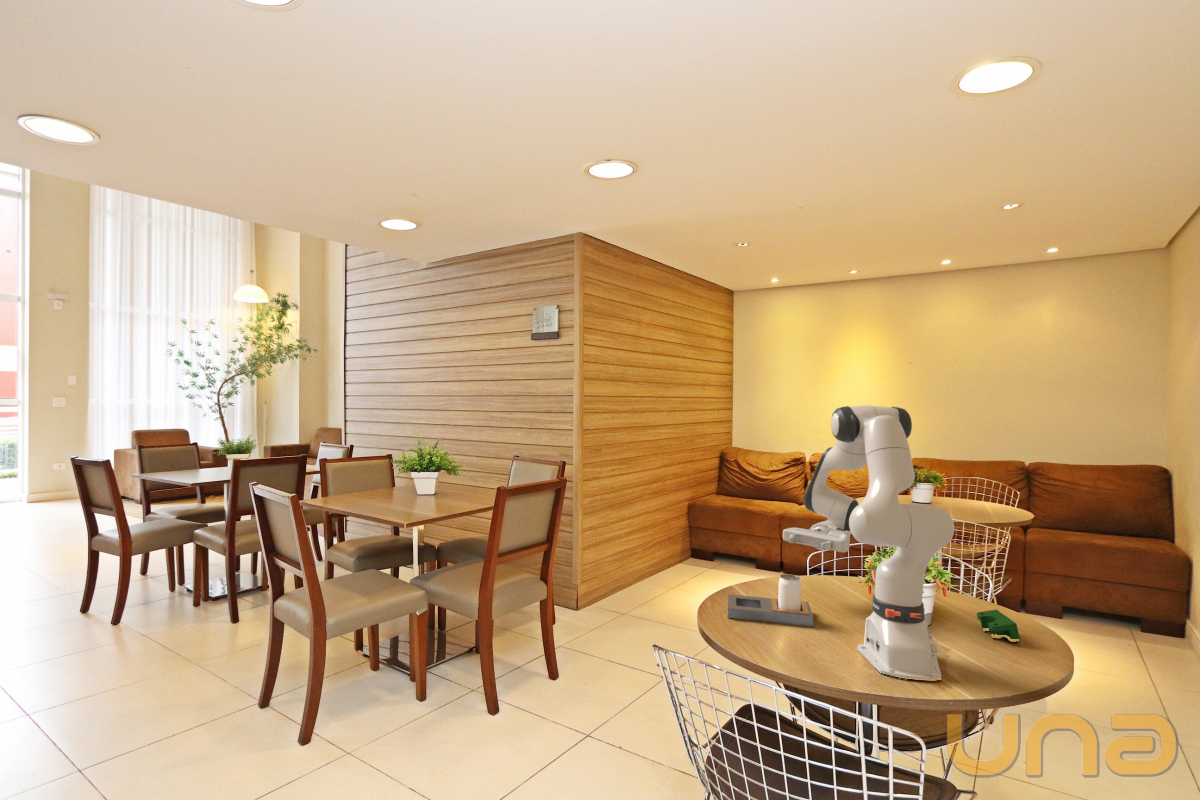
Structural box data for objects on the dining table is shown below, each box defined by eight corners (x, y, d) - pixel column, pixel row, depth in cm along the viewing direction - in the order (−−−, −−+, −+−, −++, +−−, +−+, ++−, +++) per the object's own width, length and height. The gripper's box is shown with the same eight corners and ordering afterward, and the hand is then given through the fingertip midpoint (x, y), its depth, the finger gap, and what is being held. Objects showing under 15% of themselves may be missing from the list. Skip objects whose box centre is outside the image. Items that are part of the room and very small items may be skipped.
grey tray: (812, 627, 178) (813, 615, 178) (727, 618, 183) (727, 607, 183) (807, 611, 190) (808, 601, 190) (728, 603, 195) (728, 593, 195)
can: (796, 622, 181) (797, 581, 181) (774, 617, 185) (775, 577, 185) (803, 616, 186) (804, 576, 186) (782, 611, 190) (783, 572, 190)
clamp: (985, 645, 179) (972, 613, 183) (1007, 642, 178) (994, 609, 182) (1000, 645, 168) (986, 610, 172) (1023, 641, 167) (1009, 606, 171)
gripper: (793, 521, 210) (774, 527, 200) (854, 532, 196) (837, 539, 186) (792, 539, 210) (773, 546, 200) (853, 552, 196) (837, 560, 186)
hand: (805, 543), depth 193 cm, fingers open, 8 cm apart
